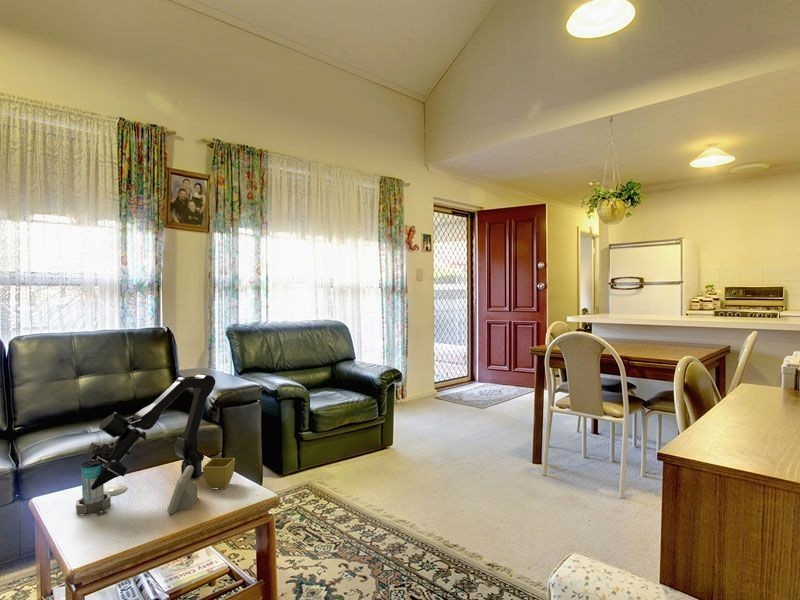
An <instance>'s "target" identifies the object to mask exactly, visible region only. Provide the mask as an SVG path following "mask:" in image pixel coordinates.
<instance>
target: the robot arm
mask: <svg viewBox="0 0 800 600" xmlns="http://www.w3.org/2000/svg"><path fill="white" fill-rule="evenodd" d="M215 385H216V379H215V377H214V375H211V374H205V373H199V374H197V375H195V376H192V375H191V376H179V377H178V378H176V380H175V381H174V383H172V384H171V385H169V387H168V388H167V389H166V390H164V392H163V393H162V394H161V395H160V396H159V397H157V398H156V399H155V400H154V401H153V402H152V403H150V404H149V405H147V406H145V407H143V408H142V409H140V410H139V411H137V412H136V413H135V414H134V415H132V416H129V417H126V418H124V417H122V416H121V415H120V414H119V413H118V412H116V411H114V412H113V413H112V414H110V415H108V416H107V417H106V418H104V419H102V421H101V422H100V423H99V427H98V429H99V430H101V431H102V432H104V433H105V434H107V435H109V436H110V437H111V438H117V439H116V440H115V441H114V442H113V441H110V442H109V443H105V442H102V443H99V442H93V441H92V442H90V445H89V447H88V450H87V453H90V454H89V455H88V457H89V458H90V460H89V461H94V460H101V461H103V466H101V473H100V475H99V476H98V477H97V479H96V480H95V482H94V483H93V485H92V486H91V489H92V490H94V489H96V488H98V487H99V486H101V485H103V484H104V485H105V484H107V483H108V482H111V480H114V479H115V478H119V475H120V476H121V477H125V475H126V474H127V473H128V468H127V466H125V465H123V464H122V461H123V459H124V458H125V457H126V456H130V454H131V452H130V451H131V450H132V449H133V447H134V446H135V445H136V443H137V442H138V441H139V440H140V439H141V440H143V441H147V432H146V431H147V430H148V431H149V430H151V429H152V428H153V427H154V426H155V425H156V423H157V422H158V421H159V419H160V417H161V415H162V413H163V412H164V411H165V410H166V408H168V407H169V406H170V405H171V404H172V403H173V402H174V401H175V400H176V399H177V398H178V397H179V396H180V395H181V394H182V393H183V392H184V391H185V390H186V389H188V388H189V389H190V388H191V389H192V392H193V399H192V403H191V407H190V409H189V410H190V411H189V413H188V418H187V421H186V425H185V428H184V432H183V434H182V435H181V437H179V436H177V437H176V442H175V444H174V446H173V448H174V452H175V454H176V456H178V457H179V459H180V460H182V461H181V465H180V470H181V471H180V472H181V473H180V476H181V475H182V474H183V472H184V471H185V469H186V467H187V466H190V465H191V466H193V467H194V470H193V473H192V476H191V480H197V479H198V478H199V477H201V476H203V475H204V473H203V466H202V462H203V461H204V458H205V454H204V453H202V452H200V451H199V438H198V433H199V429H200V425H201V421H202V419H203V414H204V411H205V406H206V403H207V400H208V397H209V396H210V395H211V394H212V392H213V390H214V388H215ZM129 426H130V427H132V428H130V427H129ZM139 429H140V430H142V431H140V430H139ZM200 475H201V476H200Z"/></svg>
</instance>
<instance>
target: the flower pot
mask: <svg viewBox="0 0 800 600" xmlns="http://www.w3.org/2000/svg"><path fill="white" fill-rule="evenodd" d="M235 460H236V458H235V457H224V458H223V457H220V458H219V457H213V458H211V459H209V460H208V462H207V463H205V464H204V465H203V466H202V472H203V473H204V474H203V478H204V482H205V484H206V486H207V487H208V489H210V488H224V489H225V488H226V487H227V486H228V485H229V483H230V482H231V481H232V478H233V475H234V470H235V465H236V464H235V463H236V461H235Z"/></svg>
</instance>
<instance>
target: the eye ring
mask: <svg viewBox="0 0 800 600" xmlns="http://www.w3.org/2000/svg"><path fill="white" fill-rule="evenodd" d="M111 497H112V496H110V493H104V500H103V501H101V502H98V503H93V504H89V505H85V504H83V497H81V498H79V499H77V500H76V501H75V504H76V506H75V507H76V508H75V510H76V515H77V514H84V515H83V516H89V514H90V515H93V514H95V515H96V516H98V517H100V516H103V515H106V514H108V511H106V510H107V509H108V508H110V507H111V506H112V505H111V504H112V503H111V500H112V499H111Z"/></svg>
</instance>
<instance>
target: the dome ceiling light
mask: <svg viewBox="0 0 800 600" xmlns="http://www.w3.org/2000/svg"><path fill="white" fill-rule="evenodd" d="M127 489H128V486H127V484H123V483H121V484H120V483H119V484H117V483H115V484H112V485H108V486H104V493H110V497H113V496H117V495H119V494H122V493H124V492H126V490H127Z"/></svg>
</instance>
